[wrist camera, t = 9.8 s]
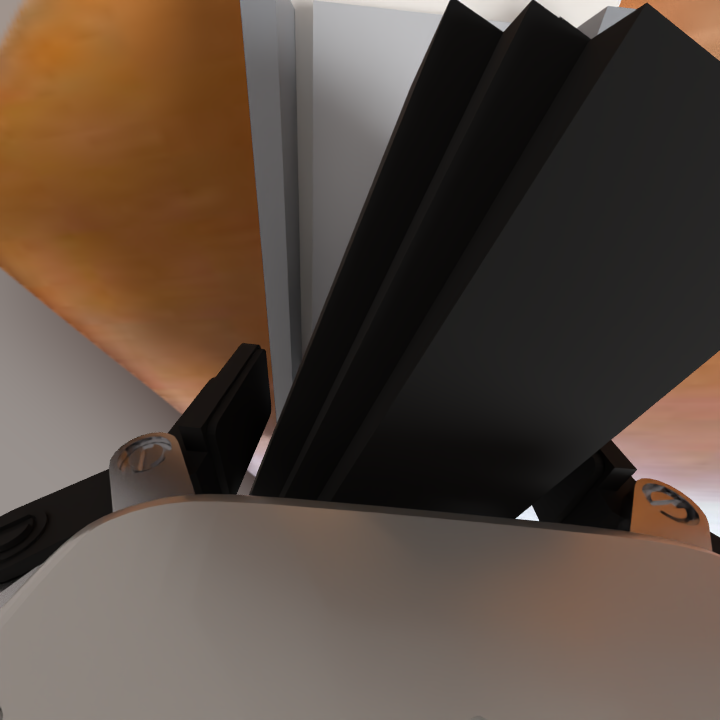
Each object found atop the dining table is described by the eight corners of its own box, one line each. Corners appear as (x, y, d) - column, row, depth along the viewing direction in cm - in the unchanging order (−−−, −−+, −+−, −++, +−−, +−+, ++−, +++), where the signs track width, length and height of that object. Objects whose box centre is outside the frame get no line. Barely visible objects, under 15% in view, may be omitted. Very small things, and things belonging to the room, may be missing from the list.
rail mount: (255, -29, 10) (210, -103, 7) (604, 11, 10) (687, -46, 7) (286, 450, 23) (275, 487, 20) (440, 464, 23) (448, 503, 20)
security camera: (269, 439, 19) (190, 646, 11) (403, 98, 11) (575, -297, 2) (366, 470, 21) (366, 676, 12) (556, 188, 12) (1064, 195, 3)
